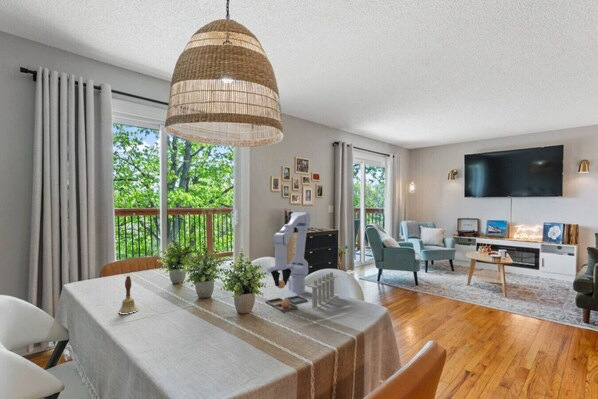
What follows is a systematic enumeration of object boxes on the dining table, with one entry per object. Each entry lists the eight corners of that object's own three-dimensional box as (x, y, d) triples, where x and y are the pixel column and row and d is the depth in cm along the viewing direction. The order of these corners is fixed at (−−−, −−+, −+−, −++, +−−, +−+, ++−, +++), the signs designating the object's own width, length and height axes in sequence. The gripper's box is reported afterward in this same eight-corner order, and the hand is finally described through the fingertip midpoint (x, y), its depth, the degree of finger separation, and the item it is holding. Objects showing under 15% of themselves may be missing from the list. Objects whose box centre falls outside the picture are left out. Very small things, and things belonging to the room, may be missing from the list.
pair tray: (265, 303, 151) (265, 300, 151) (279, 300, 156) (279, 297, 156) (283, 313, 138) (283, 310, 138) (297, 309, 143) (297, 306, 143)
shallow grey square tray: (284, 301, 156) (284, 298, 156) (297, 298, 160) (297, 295, 160) (293, 305, 149) (293, 302, 149) (307, 302, 154) (307, 299, 154)
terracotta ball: (275, 288, 152) (275, 279, 152) (282, 286, 154) (282, 278, 154) (279, 289, 148) (279, 281, 148) (286, 288, 151) (286, 280, 151)
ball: (279, 307, 145) (279, 299, 145) (286, 305, 147) (286, 297, 147) (284, 310, 141) (284, 301, 141) (291, 308, 144) (291, 299, 144)
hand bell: (113, 313, 139) (113, 277, 139) (130, 307, 146) (130, 273, 147) (125, 316, 135) (125, 279, 135) (142, 310, 143) (142, 275, 143)
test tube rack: (316, 311, 141) (316, 282, 141) (307, 309, 144) (307, 281, 144) (338, 296, 163) (338, 271, 163) (330, 295, 165) (330, 270, 165)
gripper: (272, 260, 144) (272, 289, 144) (297, 257, 152) (297, 284, 152) (264, 257, 150) (264, 286, 149) (289, 255, 158) (289, 281, 158)
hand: (280, 285), depth 151 cm, fingers closed on terracotta ball, 4 cm apart
